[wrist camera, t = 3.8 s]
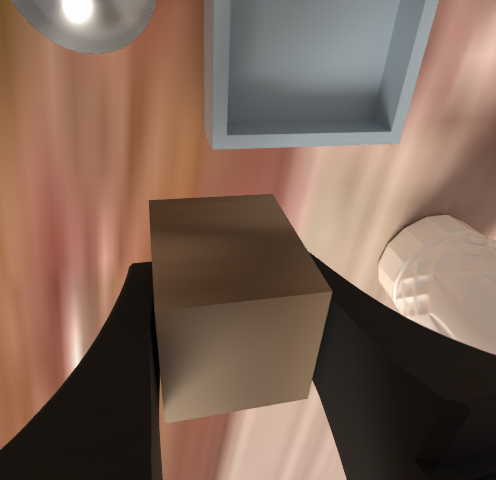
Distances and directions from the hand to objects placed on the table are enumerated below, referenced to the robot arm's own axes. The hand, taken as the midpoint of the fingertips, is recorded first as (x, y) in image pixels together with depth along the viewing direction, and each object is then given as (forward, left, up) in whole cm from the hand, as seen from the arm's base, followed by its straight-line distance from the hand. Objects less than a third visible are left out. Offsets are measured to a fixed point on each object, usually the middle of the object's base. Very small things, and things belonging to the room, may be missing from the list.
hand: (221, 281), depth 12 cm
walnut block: (0, 0, -2) cm, 2 cm away
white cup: (+16, -7, -9) cm, 20 cm away
